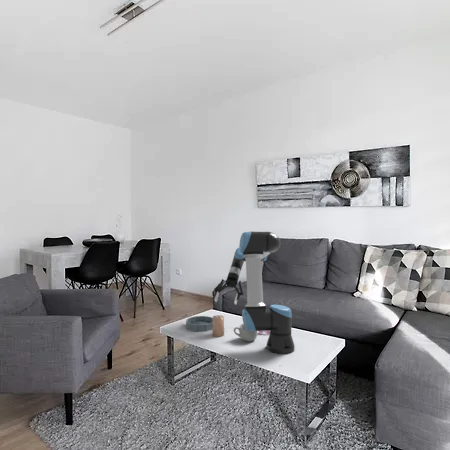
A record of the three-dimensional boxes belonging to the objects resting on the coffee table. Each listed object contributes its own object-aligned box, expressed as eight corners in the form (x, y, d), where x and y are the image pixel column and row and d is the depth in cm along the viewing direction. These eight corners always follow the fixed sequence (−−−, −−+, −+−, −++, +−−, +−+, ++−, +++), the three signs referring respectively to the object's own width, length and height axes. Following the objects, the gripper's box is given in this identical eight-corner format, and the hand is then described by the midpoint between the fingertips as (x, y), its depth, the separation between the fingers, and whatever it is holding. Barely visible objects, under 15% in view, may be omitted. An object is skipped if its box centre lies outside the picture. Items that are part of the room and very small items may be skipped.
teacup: (257, 336, 205) (257, 323, 205) (257, 343, 194) (257, 329, 194) (234, 336, 207) (234, 322, 206) (233, 342, 196) (233, 328, 195)
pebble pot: (225, 333, 210) (225, 314, 210) (221, 337, 204) (221, 318, 203) (215, 332, 213) (215, 313, 213) (210, 335, 206) (210, 316, 206)
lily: (249, 334, 212) (251, 323, 207) (257, 322, 221) (259, 311, 216) (267, 343, 208) (269, 332, 203) (274, 330, 217) (277, 319, 212)
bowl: (219, 323, 229) (219, 318, 229) (207, 332, 212) (207, 326, 212) (194, 320, 237) (194, 314, 236) (180, 328, 219) (180, 322, 219)
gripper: (252, 279, 229) (244, 307, 216) (218, 276, 239) (209, 303, 226) (250, 273, 224) (242, 301, 211) (215, 270, 234) (205, 297, 220)
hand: (225, 302), depth 218 cm, fingers open, 13 cm apart
